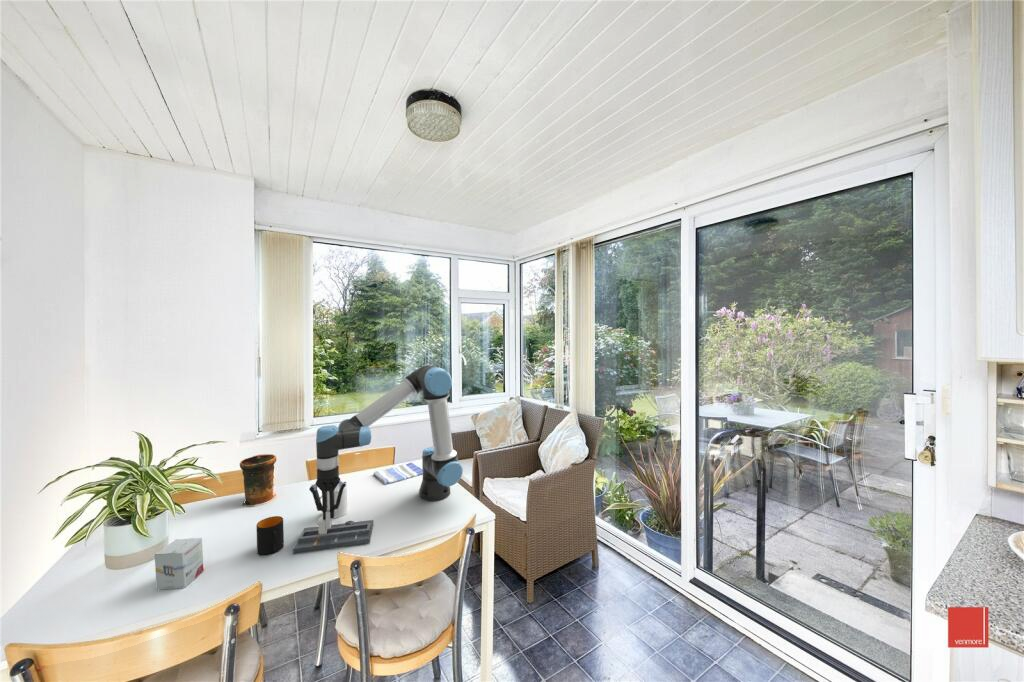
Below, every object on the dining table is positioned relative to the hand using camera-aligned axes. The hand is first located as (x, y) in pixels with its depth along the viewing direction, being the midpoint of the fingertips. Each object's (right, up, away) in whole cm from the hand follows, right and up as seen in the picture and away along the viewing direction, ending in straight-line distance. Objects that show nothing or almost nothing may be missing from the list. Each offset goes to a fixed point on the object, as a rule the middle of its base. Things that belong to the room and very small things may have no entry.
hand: (328, 526), depth 142 cm
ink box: (-37, -6, -23) cm, 44 cm away
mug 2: (-7, -4, +19) cm, 21 cm away
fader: (-2, -3, 0) cm, 4 cm away
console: (+2, -5, +1) cm, 6 cm away
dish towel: (+8, -3, +62) cm, 63 cm away
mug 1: (-17, -6, -7) cm, 19 cm away
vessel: (-49, -4, +32) cm, 59 cm away
